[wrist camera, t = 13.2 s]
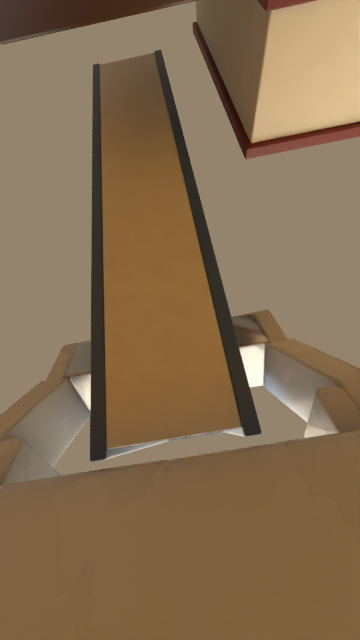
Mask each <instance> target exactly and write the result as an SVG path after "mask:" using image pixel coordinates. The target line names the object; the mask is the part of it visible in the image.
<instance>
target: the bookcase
mask: <svg viewBox="0 0 360 640" xmlns="http://www.w3.org/2000/svg"><path fill="white" fill-rule="evenodd" d="M193 1H198V0H0V44H7V43H11V42H16V41H20V40H25V39H28V38H34V37H38V36H42V35H46V34H51V33H56V32H60V31H65V30H69V29H74V28H78V27H82V26H87V25H91V24H96V23H100V22H105V21H109V20H113V19H118V18H122V17H127V16H131V15H136V14H140V13H145V12H149V11H153V10H158V9H162V8H167V7H171V6H175V5H180V4H185V3H189V2H193Z"/></svg>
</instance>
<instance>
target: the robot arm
mask: <svg viewBox="0 0 360 640" xmlns="http://www.w3.org/2000/svg"><path fill="white" fill-rule="evenodd" d="M231 318H232V322H233V326H234V330H235V334H236V337H237V341H238V345H239V349H240V353H241V356H242V360H243V364H244V368H245V372H246V375H247V379H248V383H249V387H255V386H262V385H264V387H265V388H266V389H267V390H268V391H270V392H271V393H272V394H273V395H275V396H276V397H277V398H278V399H279V400H281V401H282V402H283V403H284V404H286V405H287V406H288V407H289V408H290V409H291V410H293V411H294V412H295V413H296V414H298V415H299V416H300V417H301V418H303V419H304V420H305V421H306V422H307V423H308V424H307V428H306V432H305V435H304V438H302V439H295V440H289V441H283V442H276V443H269V444H263V445H257V446H250V447H244V448H237V449H230V450H225V451H218V452H211V453H205V454H199V455H192V456H185V457H179V458H172V459H166V460H160V461H153V462H147V463H140V464H134V465H128V466H121V467H115V468H108V469H102V470H95V471H89V472H82V473H76V474H69V475H63V476H61V475H59V474H58V473H57V472H56V471H55V470H54V469H53V467H54V465H55V464H56V462H57V461H58V460H59V458H60V457H61V456H62V454H63V453H64V452H65V450H66V449H67V447H68V446H69V445H70V443H71V441H73V439H74V438H75V437H76V435H77V434H78V432H79V431H80V430H81V428H82V427H83V426H84V424H85V423H86V422H87V420H88V419H89V418H90V407H91V341H87V342H80V343H74V344H69V345H65V346H63V347H62V349H61V351H60V353H59V355H58V357H57V359H56V361H55V363H54V365H53V367H52V369H51V371H50V373H49V375H48V377H47V379H46V381H42V382H40V383H39V384H38V385H36V386H35V387H34V388H33V389H32V390H31V391H29V392H28V393H27V394H26V395H24V396H23V397H22V398H21V399H19V400H18V401H17V402H16V403H15V404H13V405H12V406H11V407H10V408H9V409H7V410H6V411H5V412H4V413H3V414H1V415H0V640H360V369H359V368H357V367H355V366H353V365H351V364H349V363H346V362H344V361H342V360H340V359H338V358H335V357H333V356H331V355H329V354H326V353H324V352H322V351H320V350H318V349H316V348H313V347H311V346H309V345H307V344H305V343H302V342H300V341H298V340H296V339H289V338H288V337H287V336H286V334H285V333H284V331H283V330H282V329H281V327H280V325H279V324H278V323H277V321H276V320H275V318H274V317H273V315H272V314H271V313H270V311H269V310H263V311H257V312H253V313H250V314H245V315H239V316H233V317H231Z"/></svg>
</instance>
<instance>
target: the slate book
mask: <svg viewBox="0 0 360 640" xmlns="http://www.w3.org/2000/svg"><path fill="white" fill-rule="evenodd" d="M154 53H155V54H154ZM154 53H152V54H147V55H143V56H138V57H134V58H129V59H125V60H120V61H116V62H111V63H107V64H102V65H100V64H95V65H93V133H92V136H93V137H92V143H93V144H92V270H91V271H92V273H91V285H92V286H91V407H90V420H91V421H90V461H92V462H93V461H100V460H106V459H109V458H112V457H115V456H119V455H122V454H125V453H129V452H132V451H136V450H139V449H143V448H146V447H150V446H153V445H156V444H160V443H163V442H166V441H172V440H178V439H184V438H190V437H196V436H202V435H208V434H215V433H221V432H225V433H230V434H235V435H240V436H245V437H249V436H255V435H260V434H261V429H260V425H259V421H258V417H257V413H256V410H255V406H254V402H253V398H252V394H251V391H250V387H249V383H248V379H247V375H246V372H245V368H244V364H243V360H242V356H241V353H240V349H239V345H238V341H237V337H236V334H235V330H234V326H233V322H232V318H231V315H230V311H229V307H228V303H227V299H226V295H225V292H224V288H223V284H222V280H221V277H220V273H219V269H218V265H217V261H216V257H215V254H214V250H213V246H212V242H211V239H210V235H209V231H208V227H207V223H206V220H205V216H204V212H203V208H202V204H201V200H200V196H199V193H198V189H197V185H196V181H195V178H194V174H193V170H192V166H191V163H190V158H189V155H188V151H187V147H186V143H185V139H184V136H183V132H182V128H181V124H180V120H179V117H178V113H177V109H176V105H175V102H174V97H173V94H172V90H171V86H170V82H169V79H168V75H167V71H166V68H165V63H164V59H163V56H162V52H161V50H158V51H155V52H154Z"/></svg>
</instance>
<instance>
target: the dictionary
mask: <svg viewBox="0 0 360 640" xmlns="http://www.w3.org/2000/svg"><path fill="white" fill-rule="evenodd" d="M196 10H197V11H196V13H197V22H194V23H193V33H194V35H195V38H196V40H197V43H198V45H199V47H200V50H201V52H202V55H203V57H204V60H205V62H206V65H207V67H208V69H209V72H210V74H211V77H212V79H213V82H214V84H215V86H216V89H217V91H218V94H219V96H220V99H221V101H222V103H223V106H224V108H225V111H226V113H227V116H228V118H229V120H230V123H231V125H232V128H233V130H234V133H235V135H236V137H237V140H238V142H239V145H240V147H241V149H242V152H243V154H244V157H245V159H249V158H254V157H259V156H264V155H269V154H274V153H279V152H284V151H289V150H294V149H299V148H304V147H309V146H314V145H319V144H324V143H329V142H333V141H339V140H344V139H349V138H354V137H359V136H360V0H198V1H196Z"/></svg>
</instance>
